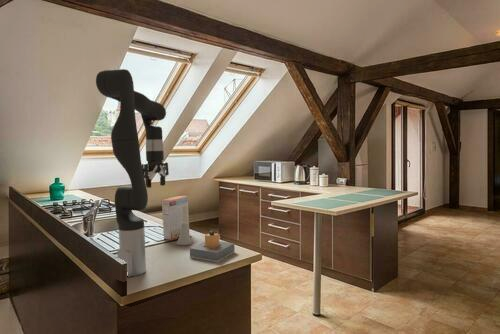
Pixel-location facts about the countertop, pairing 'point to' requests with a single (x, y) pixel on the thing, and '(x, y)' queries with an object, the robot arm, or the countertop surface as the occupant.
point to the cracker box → (174, 216)
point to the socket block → (212, 251)
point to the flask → (184, 236)
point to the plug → (212, 240)
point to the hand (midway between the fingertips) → (156, 186)
